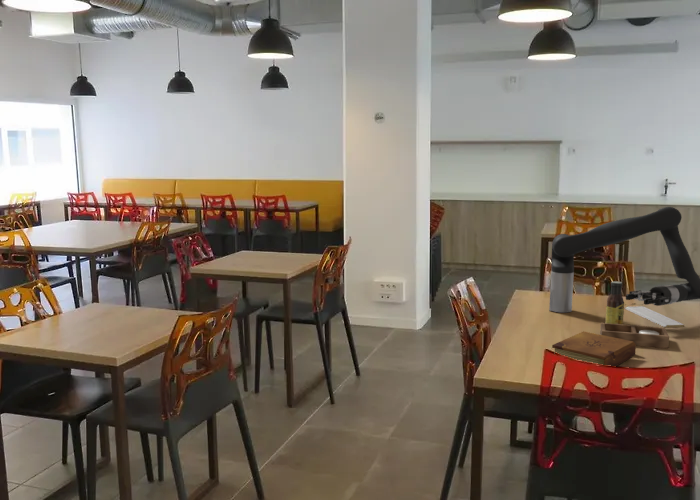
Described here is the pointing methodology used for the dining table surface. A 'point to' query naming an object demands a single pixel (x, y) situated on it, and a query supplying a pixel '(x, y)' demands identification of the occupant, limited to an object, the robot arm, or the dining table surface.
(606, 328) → the caddy
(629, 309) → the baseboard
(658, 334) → the white oval piece
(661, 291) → the robot arm
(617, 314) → the sauce bottle
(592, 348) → the diary
